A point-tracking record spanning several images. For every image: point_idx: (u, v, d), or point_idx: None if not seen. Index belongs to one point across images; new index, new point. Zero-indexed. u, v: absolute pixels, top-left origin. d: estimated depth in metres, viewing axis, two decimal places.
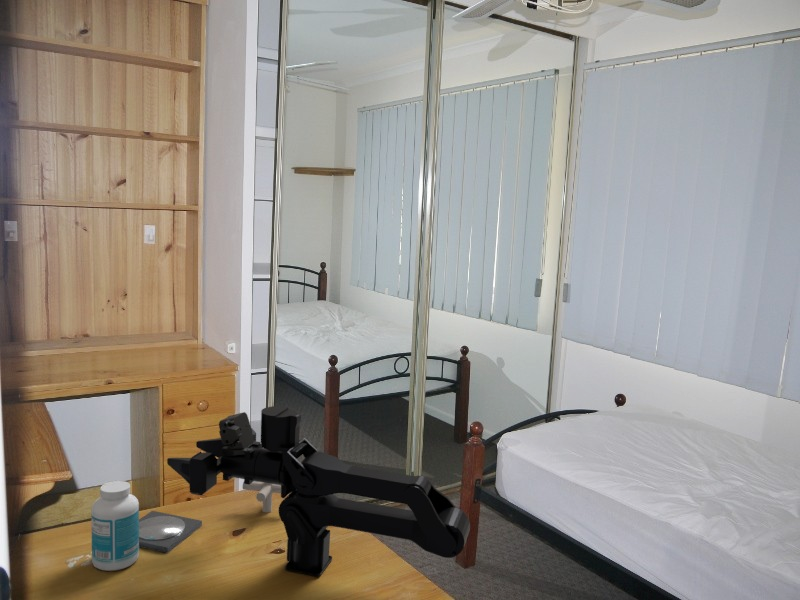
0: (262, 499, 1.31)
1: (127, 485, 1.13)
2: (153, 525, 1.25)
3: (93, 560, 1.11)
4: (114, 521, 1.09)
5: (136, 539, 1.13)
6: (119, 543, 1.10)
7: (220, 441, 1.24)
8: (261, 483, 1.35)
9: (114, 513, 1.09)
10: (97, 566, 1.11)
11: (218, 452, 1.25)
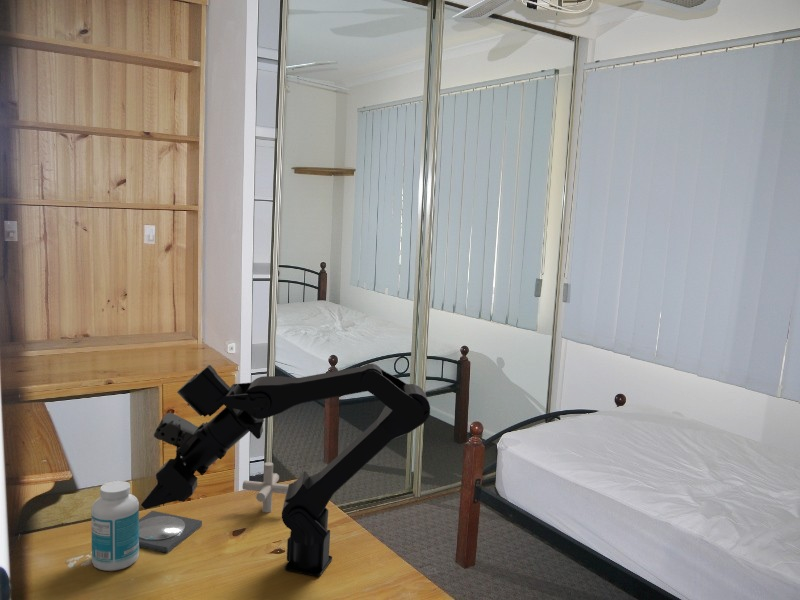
0: (262, 499, 1.31)
1: (127, 485, 1.13)
2: (153, 525, 1.25)
3: (93, 560, 1.11)
4: (114, 521, 1.09)
5: (136, 539, 1.13)
6: (119, 543, 1.10)
7: None
8: (261, 483, 1.35)
9: (114, 513, 1.09)
10: (97, 566, 1.11)
11: None
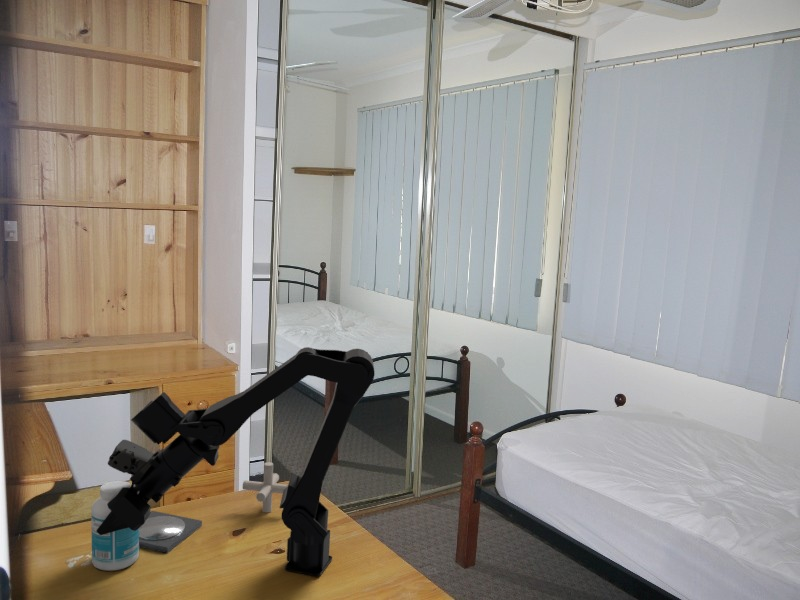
0: (262, 499, 1.31)
1: (127, 485, 1.13)
2: (153, 525, 1.25)
3: (93, 560, 1.11)
4: None
5: (136, 539, 1.13)
6: (119, 543, 1.10)
7: None
8: (261, 483, 1.35)
9: None
10: (97, 566, 1.11)
11: None
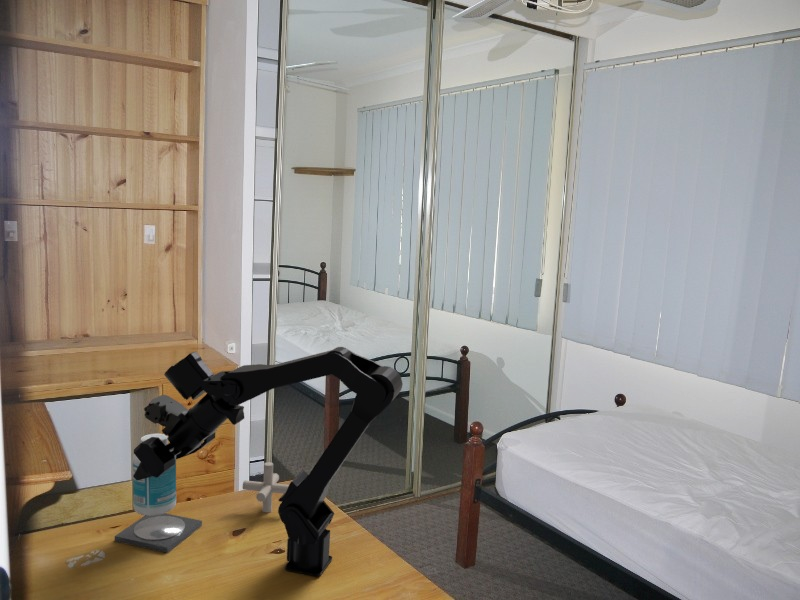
0: (262, 499, 1.31)
1: (165, 437, 1.21)
2: (153, 525, 1.25)
3: (133, 504, 1.20)
4: None
5: (171, 489, 1.20)
6: (152, 490, 1.18)
7: None
8: (261, 483, 1.35)
9: None
10: (135, 510, 1.20)
11: (179, 452, 1.25)
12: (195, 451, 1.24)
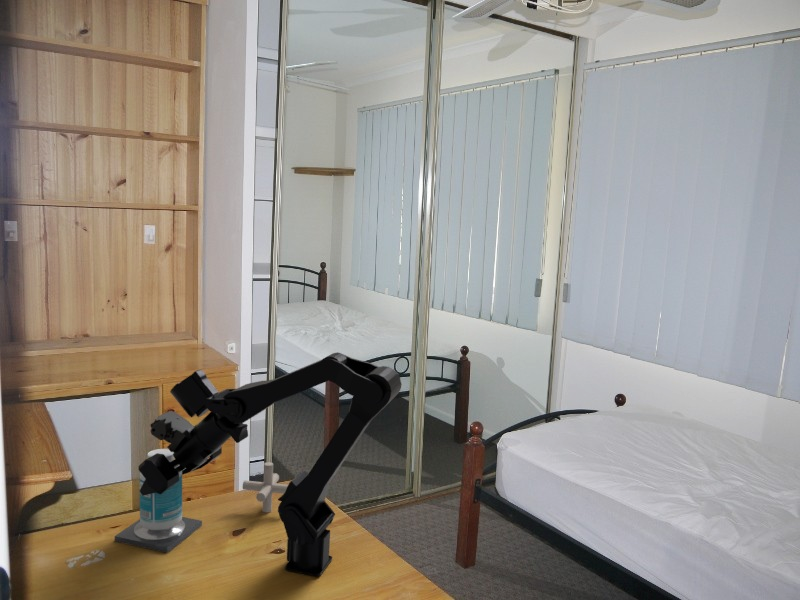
0: (262, 499, 1.31)
1: (171, 453, 1.22)
2: None
3: (140, 518, 1.22)
4: None
5: (176, 504, 1.22)
6: (158, 505, 1.20)
7: None
8: (261, 483, 1.35)
9: None
10: (141, 524, 1.21)
11: (186, 468, 1.26)
12: (201, 467, 1.25)
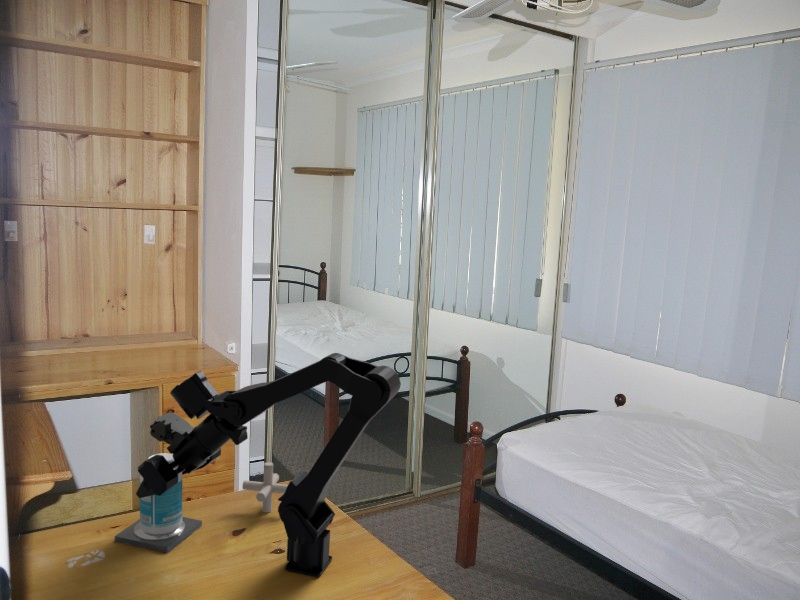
0: (262, 499, 1.31)
1: (171, 458, 1.22)
2: None
3: (140, 522, 1.23)
4: None
5: (176, 509, 1.22)
6: (158, 510, 1.20)
7: None
8: (261, 483, 1.35)
9: None
10: (142, 528, 1.22)
11: None
12: (202, 467, 1.26)
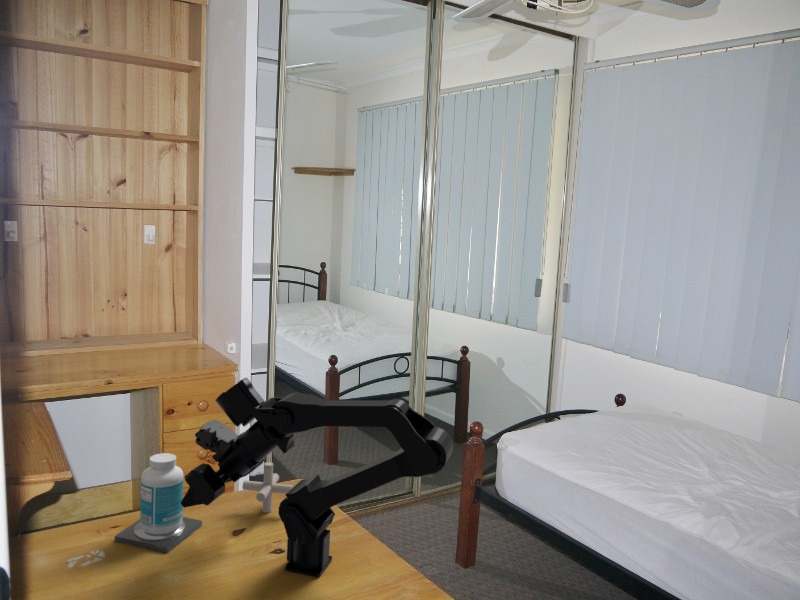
0: (262, 499, 1.31)
1: (173, 458, 1.22)
2: None
3: (140, 522, 1.23)
4: (155, 488, 1.19)
5: (177, 509, 1.22)
6: (159, 510, 1.20)
7: None
8: (261, 483, 1.35)
9: (155, 482, 1.19)
10: (142, 528, 1.22)
11: None
12: (245, 475, 1.24)
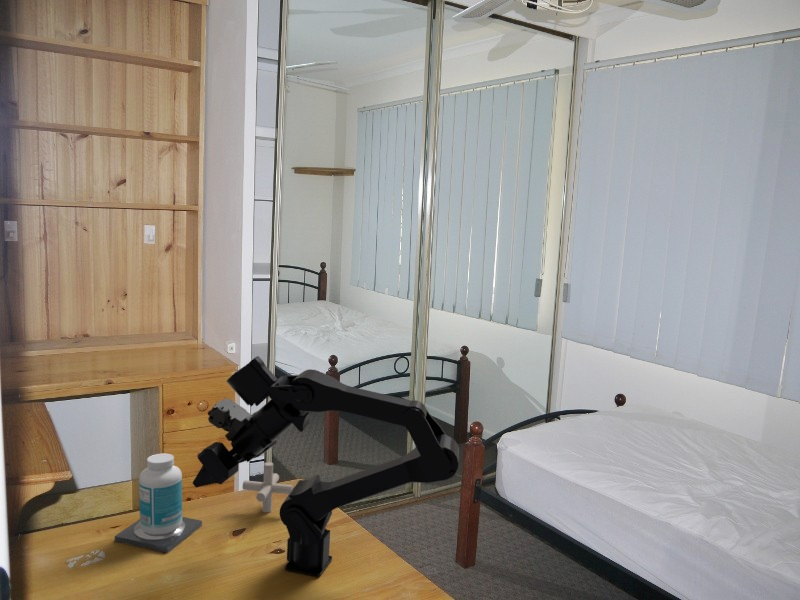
0: (262, 499, 1.31)
1: (170, 458, 1.22)
2: None
3: (140, 522, 1.23)
4: (153, 489, 1.19)
5: (176, 509, 1.22)
6: (157, 510, 1.20)
7: None
8: (261, 483, 1.35)
9: (153, 482, 1.19)
10: (141, 528, 1.22)
11: None
12: (258, 455, 1.22)
